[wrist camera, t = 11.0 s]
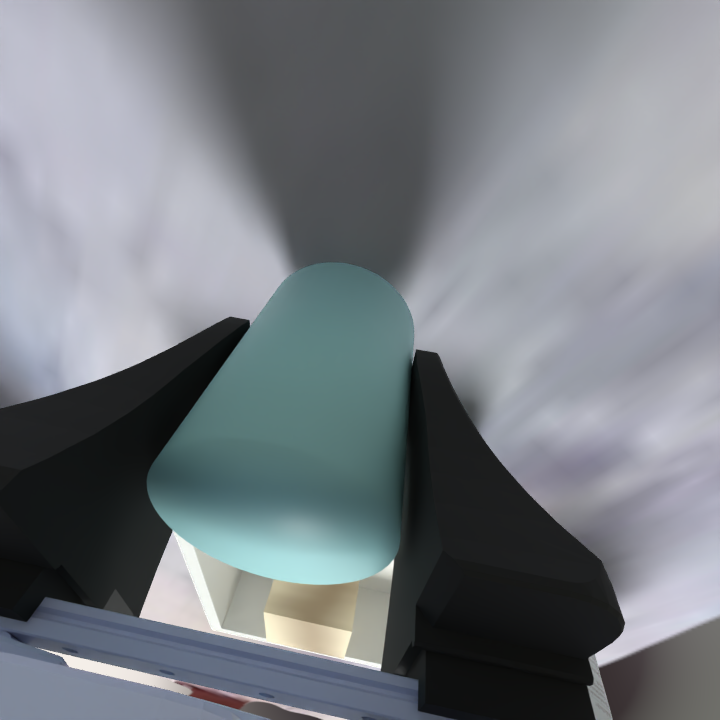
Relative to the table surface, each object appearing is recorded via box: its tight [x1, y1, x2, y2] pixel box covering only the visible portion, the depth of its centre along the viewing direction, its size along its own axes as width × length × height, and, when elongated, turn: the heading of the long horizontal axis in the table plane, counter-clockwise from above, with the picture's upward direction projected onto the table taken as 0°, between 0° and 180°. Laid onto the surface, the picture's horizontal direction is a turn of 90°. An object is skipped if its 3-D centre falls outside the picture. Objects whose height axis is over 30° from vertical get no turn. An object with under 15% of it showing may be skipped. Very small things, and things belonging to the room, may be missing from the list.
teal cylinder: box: [147, 262, 414, 585], centre depth 10 cm, size 5×5×7 cm
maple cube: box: [264, 579, 360, 659], centre depth 24 cm, size 5×5×5 cm
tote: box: [173, 531, 394, 668], centre depth 23 cm, size 14×18×5 cm
